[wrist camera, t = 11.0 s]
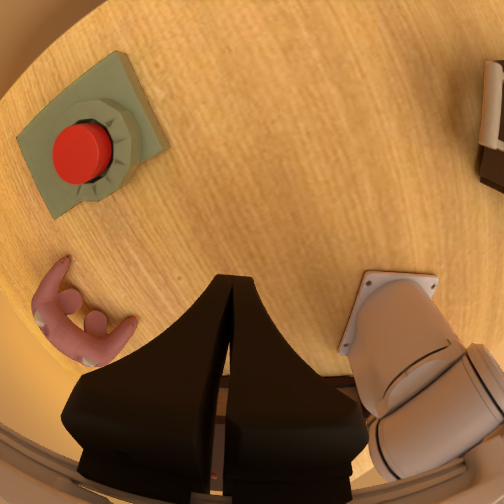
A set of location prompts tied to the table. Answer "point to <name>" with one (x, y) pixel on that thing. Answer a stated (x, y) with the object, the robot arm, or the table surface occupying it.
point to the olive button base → (105, 115)
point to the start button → (81, 153)
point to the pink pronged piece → (66, 332)
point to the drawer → (493, 122)
